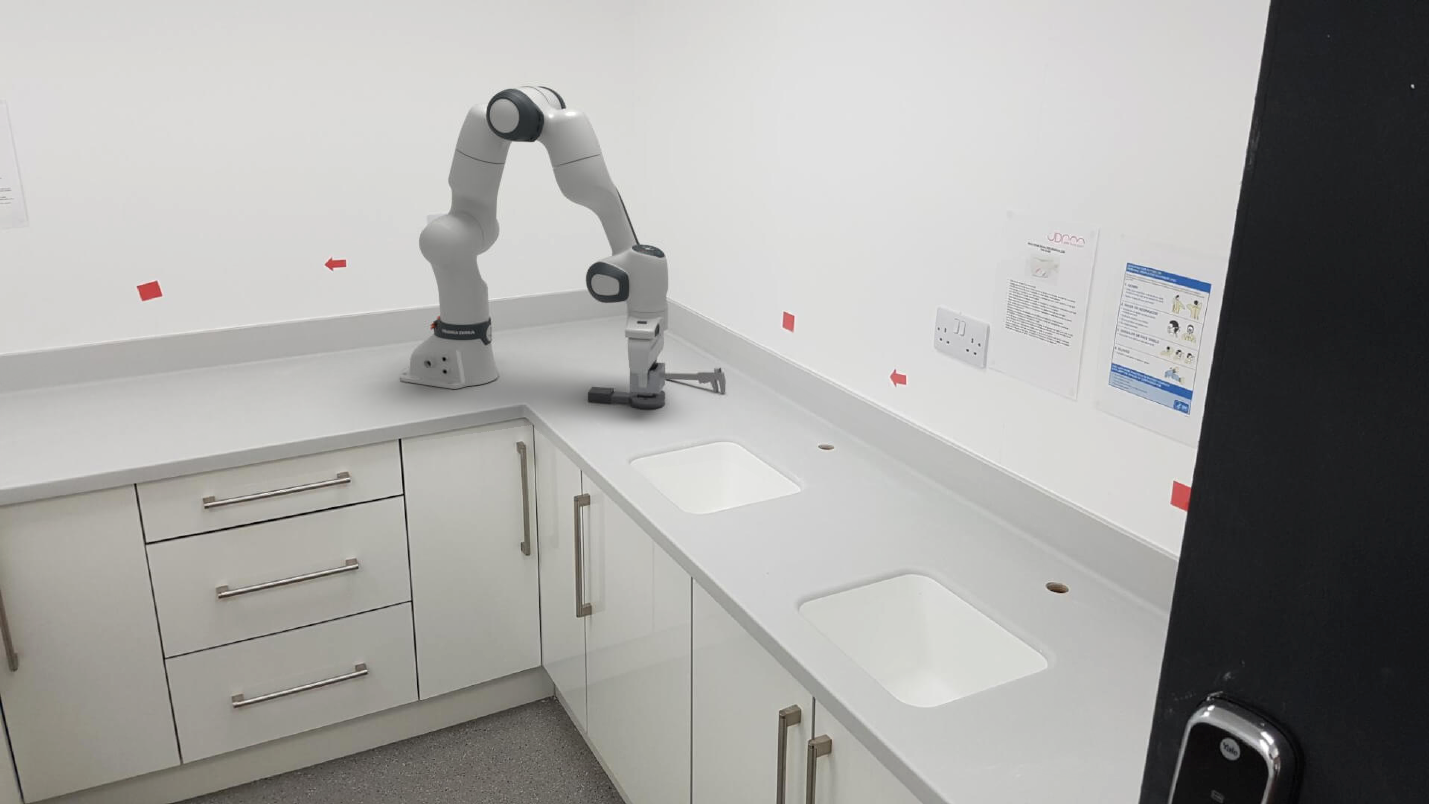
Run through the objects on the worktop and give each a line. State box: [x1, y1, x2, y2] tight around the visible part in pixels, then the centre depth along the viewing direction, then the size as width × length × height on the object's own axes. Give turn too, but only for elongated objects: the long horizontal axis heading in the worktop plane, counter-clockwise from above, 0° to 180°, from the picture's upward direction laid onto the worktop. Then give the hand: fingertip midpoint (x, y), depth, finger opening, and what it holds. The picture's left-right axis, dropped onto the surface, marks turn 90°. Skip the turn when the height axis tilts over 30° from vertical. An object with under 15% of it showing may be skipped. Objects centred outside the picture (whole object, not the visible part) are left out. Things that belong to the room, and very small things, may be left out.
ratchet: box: [587, 386, 666, 411], centre depth 244 cm, size 17×8×6 cm, turn 82°
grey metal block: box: [629, 361, 666, 394], centre depth 242 cm, size 7×7×5 cm
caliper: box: [665, 367, 727, 395], centre depth 256 cm, size 20×1×6 cm, turn 55°
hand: (647, 381), depth 242 cm, fingers closed on grey metal block, 7 cm apart
